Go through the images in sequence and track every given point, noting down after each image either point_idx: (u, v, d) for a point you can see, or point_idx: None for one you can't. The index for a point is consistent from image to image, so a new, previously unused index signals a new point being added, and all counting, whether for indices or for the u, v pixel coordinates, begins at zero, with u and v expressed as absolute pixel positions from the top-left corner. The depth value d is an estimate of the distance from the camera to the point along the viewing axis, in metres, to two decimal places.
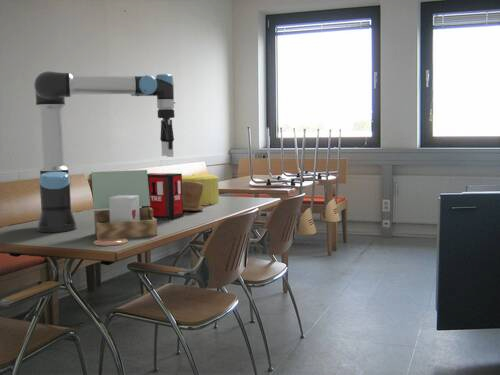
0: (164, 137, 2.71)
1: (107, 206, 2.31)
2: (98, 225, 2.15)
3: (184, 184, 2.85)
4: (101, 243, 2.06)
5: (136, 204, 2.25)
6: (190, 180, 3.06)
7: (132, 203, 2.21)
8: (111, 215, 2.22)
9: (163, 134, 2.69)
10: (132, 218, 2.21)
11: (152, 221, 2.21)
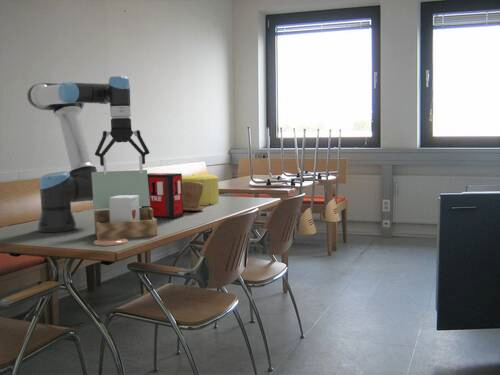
0: (137, 150, 2.25)
1: (107, 206, 2.31)
2: (98, 225, 2.15)
3: (184, 184, 2.85)
4: (101, 243, 2.06)
5: (136, 204, 2.25)
6: (190, 180, 3.06)
7: (132, 203, 2.21)
8: (111, 215, 2.22)
9: (134, 147, 2.25)
10: (132, 218, 2.21)
11: (152, 221, 2.21)
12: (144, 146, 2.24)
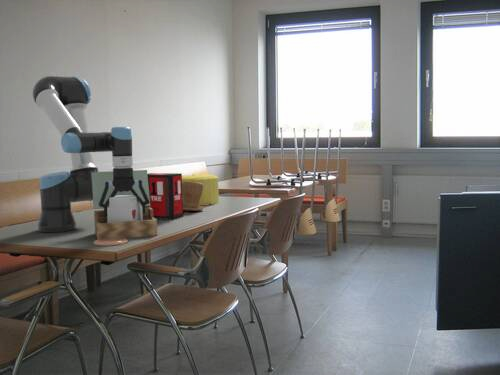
0: (138, 200, 2.26)
1: None
2: (98, 225, 2.15)
3: (184, 184, 2.85)
4: (101, 243, 2.06)
5: (136, 204, 2.25)
6: (190, 180, 3.06)
7: (132, 203, 2.21)
8: (111, 215, 2.22)
9: None
10: (132, 218, 2.21)
11: (152, 221, 2.21)
12: (145, 196, 2.26)
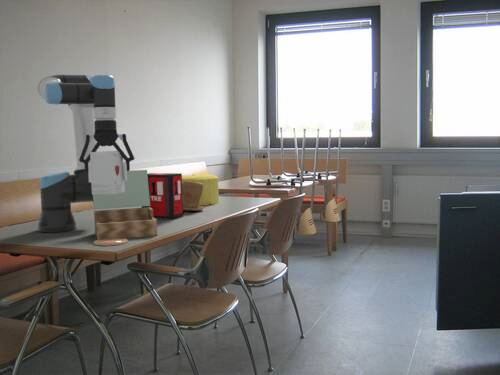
0: (122, 156, 2.09)
1: (107, 206, 2.31)
2: (98, 225, 2.15)
3: (184, 184, 2.85)
4: (101, 243, 2.06)
5: (120, 160, 2.08)
6: (190, 180, 3.06)
7: (115, 158, 2.04)
8: (92, 171, 2.04)
9: None
10: (115, 174, 2.04)
11: (152, 221, 2.21)
12: (129, 151, 2.08)
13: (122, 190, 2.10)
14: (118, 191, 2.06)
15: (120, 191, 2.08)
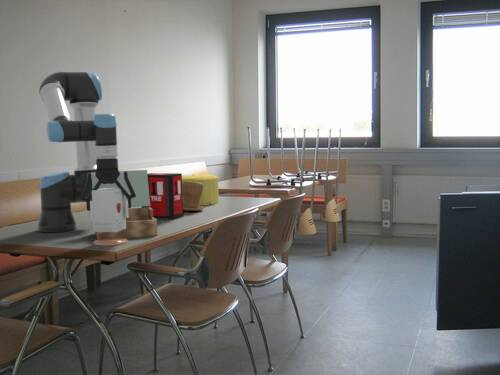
0: (123, 193, 2.10)
1: None
2: None
3: (184, 184, 2.85)
4: (101, 243, 2.06)
5: (121, 197, 2.09)
6: (190, 180, 3.06)
7: (117, 196, 2.05)
8: (94, 209, 2.05)
9: None
10: (117, 212, 2.05)
11: (152, 221, 2.21)
12: (131, 189, 2.09)
13: (124, 227, 2.11)
14: (120, 229, 2.07)
15: (122, 228, 2.09)
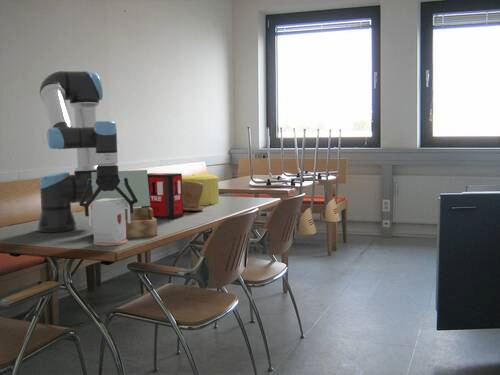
0: (125, 199, 2.10)
1: None
2: None
3: (184, 184, 2.85)
4: (101, 243, 2.06)
5: (122, 208, 2.09)
6: (190, 180, 3.06)
7: (117, 207, 2.05)
8: (95, 220, 2.05)
9: (121, 195, 2.11)
10: (117, 223, 2.05)
11: (152, 221, 2.21)
12: (132, 194, 2.10)
13: (124, 237, 2.11)
14: (120, 239, 2.08)
15: (122, 239, 2.09)
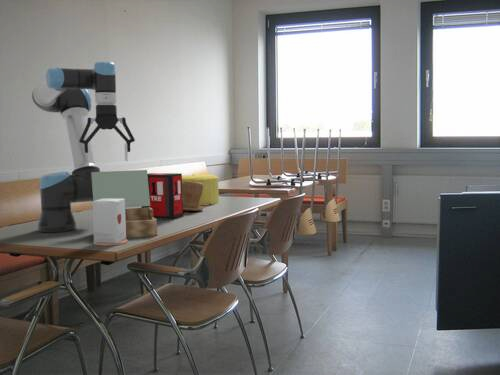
0: (123, 138, 2.21)
1: None
2: None
3: (184, 184, 2.85)
4: (101, 243, 2.06)
5: (122, 208, 2.09)
6: (190, 180, 3.06)
7: (117, 207, 2.05)
8: (95, 220, 2.05)
9: (119, 134, 2.21)
10: (117, 223, 2.05)
11: (152, 221, 2.21)
12: (129, 134, 2.21)
13: (124, 237, 2.11)
14: (120, 239, 2.08)
15: (122, 239, 2.09)
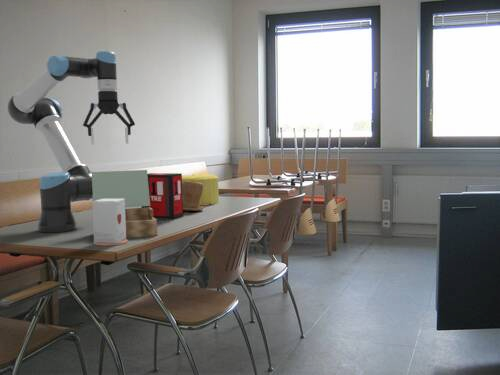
0: (123, 122, 2.38)
1: None
2: None
3: (184, 184, 2.85)
4: (101, 243, 2.06)
5: (122, 208, 2.09)
6: (190, 180, 3.06)
7: (117, 207, 2.05)
8: (95, 220, 2.05)
9: None
10: (117, 223, 2.05)
11: (152, 221, 2.21)
12: (130, 118, 2.37)
13: (124, 237, 2.11)
14: (120, 239, 2.08)
15: (122, 239, 2.09)
